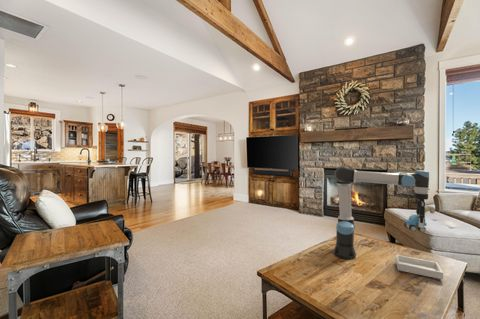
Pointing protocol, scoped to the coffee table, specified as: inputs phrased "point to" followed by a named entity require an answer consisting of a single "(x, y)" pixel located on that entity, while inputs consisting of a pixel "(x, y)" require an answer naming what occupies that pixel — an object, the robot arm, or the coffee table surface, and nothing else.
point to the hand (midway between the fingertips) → (419, 225)
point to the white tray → (419, 267)
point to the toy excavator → (417, 221)
